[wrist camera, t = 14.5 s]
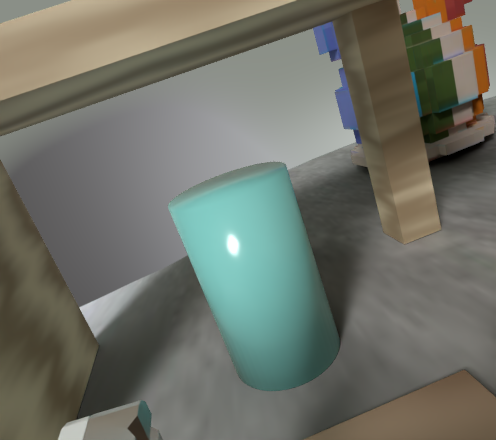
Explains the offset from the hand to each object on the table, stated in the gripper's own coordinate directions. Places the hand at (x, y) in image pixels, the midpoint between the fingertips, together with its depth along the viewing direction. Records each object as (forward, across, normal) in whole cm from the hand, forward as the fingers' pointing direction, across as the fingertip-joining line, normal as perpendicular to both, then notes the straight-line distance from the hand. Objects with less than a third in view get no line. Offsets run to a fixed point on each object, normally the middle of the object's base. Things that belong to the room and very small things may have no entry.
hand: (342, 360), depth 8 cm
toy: (+38, +24, -9) cm, 46 cm away
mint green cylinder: (+12, 0, -9) cm, 15 cm away
